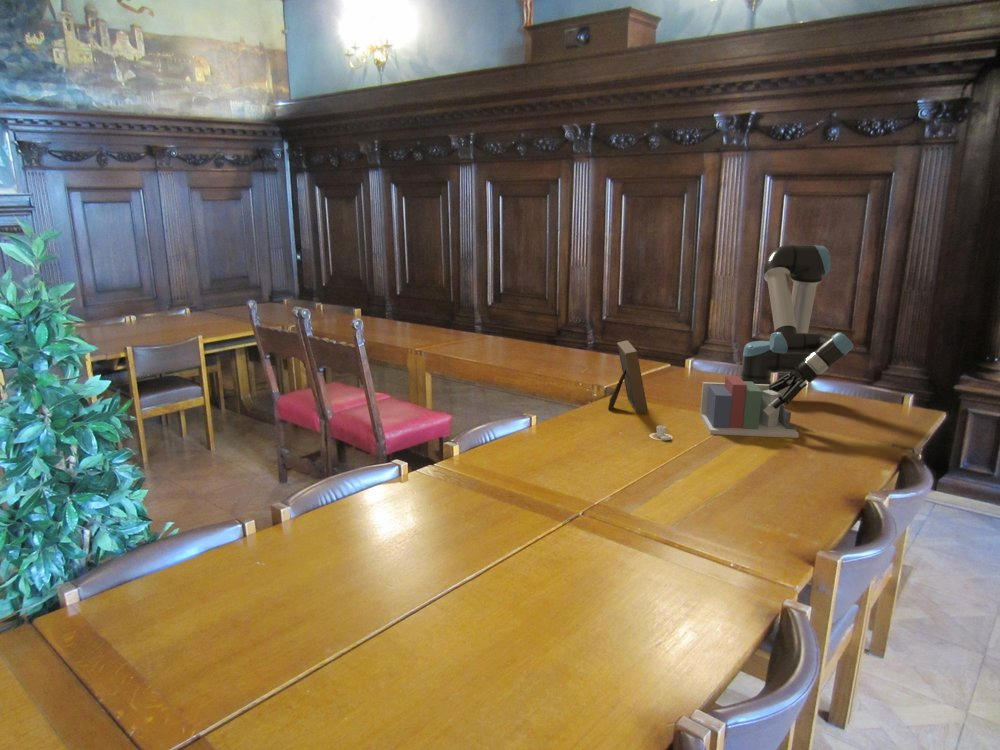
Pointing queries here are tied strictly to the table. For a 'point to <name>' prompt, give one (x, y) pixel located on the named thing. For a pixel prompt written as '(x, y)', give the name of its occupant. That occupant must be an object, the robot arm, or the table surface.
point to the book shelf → (744, 431)
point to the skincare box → (766, 399)
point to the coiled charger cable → (661, 433)
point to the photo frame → (630, 378)
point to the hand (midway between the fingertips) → (761, 408)
